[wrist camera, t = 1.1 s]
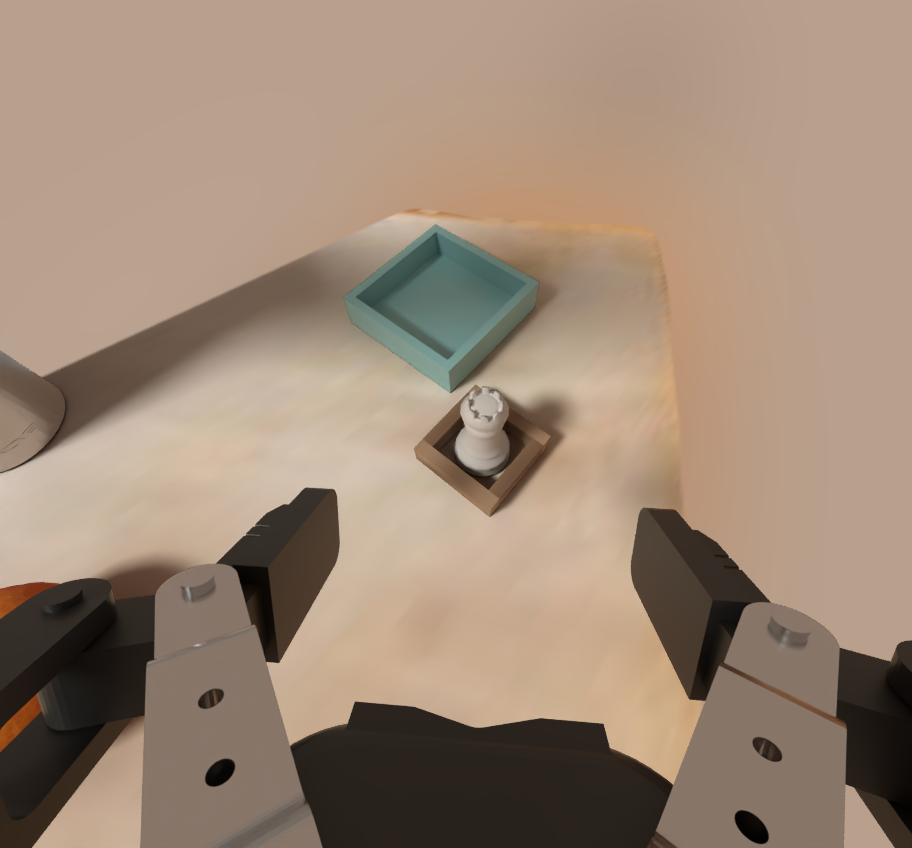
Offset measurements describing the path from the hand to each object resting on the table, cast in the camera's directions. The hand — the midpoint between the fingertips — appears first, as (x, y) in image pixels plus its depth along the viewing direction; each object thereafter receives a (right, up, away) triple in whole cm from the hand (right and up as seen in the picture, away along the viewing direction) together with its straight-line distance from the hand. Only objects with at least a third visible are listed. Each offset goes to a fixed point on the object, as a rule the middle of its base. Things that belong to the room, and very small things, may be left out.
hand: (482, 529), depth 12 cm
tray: (-2, +13, +31) cm, 34 cm away
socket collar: (+1, 0, +24) cm, 24 cm away
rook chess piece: (+1, 0, +24) cm, 24 cm away
